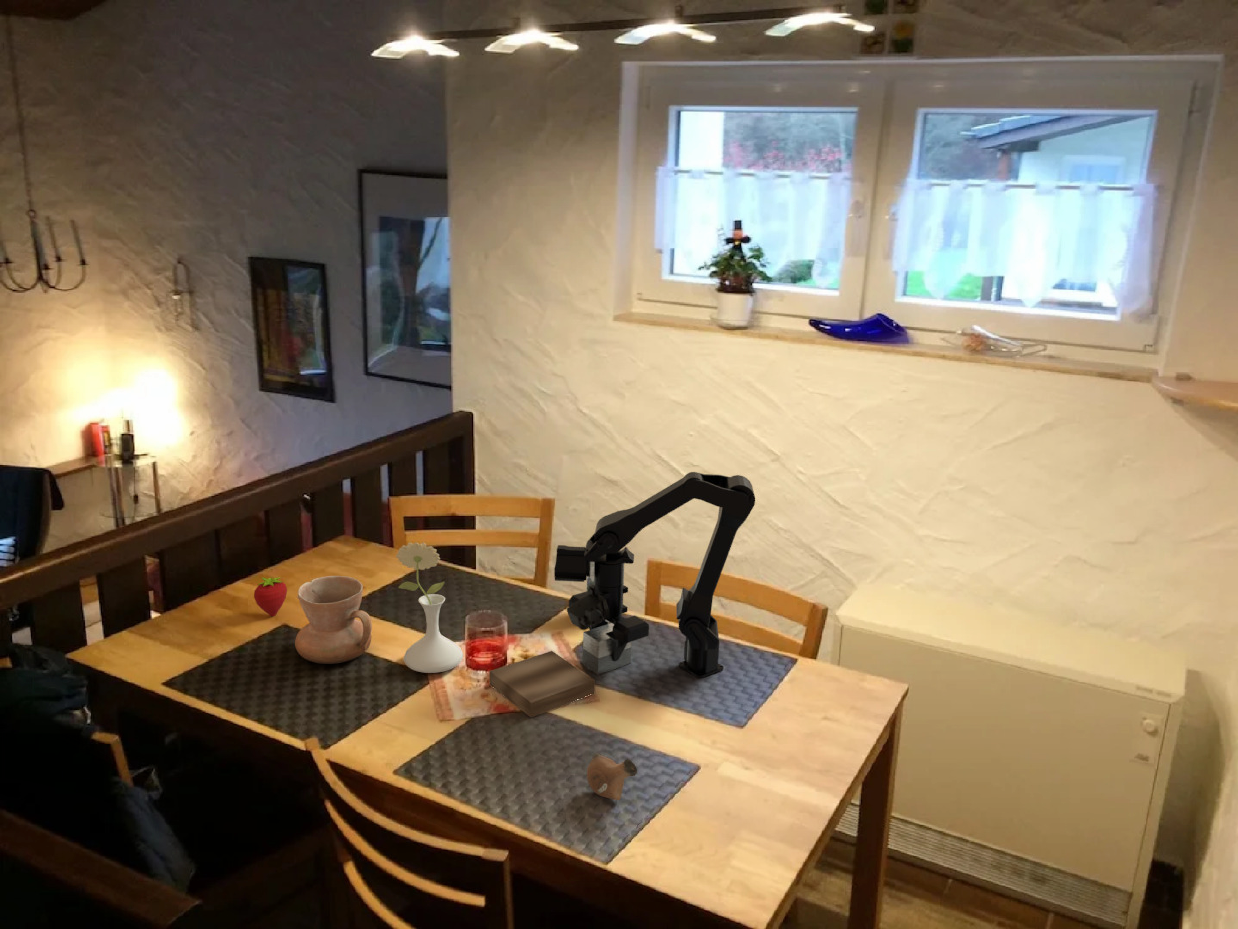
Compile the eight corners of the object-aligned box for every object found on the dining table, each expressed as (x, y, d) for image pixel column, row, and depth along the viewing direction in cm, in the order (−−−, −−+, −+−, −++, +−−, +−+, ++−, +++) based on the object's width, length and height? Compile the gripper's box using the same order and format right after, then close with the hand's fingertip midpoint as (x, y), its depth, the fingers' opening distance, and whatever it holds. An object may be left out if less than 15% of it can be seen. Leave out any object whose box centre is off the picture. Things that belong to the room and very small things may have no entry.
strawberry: (249, 620, 216) (245, 576, 213) (273, 606, 222) (270, 563, 219) (271, 625, 214) (267, 581, 211) (295, 611, 220) (292, 568, 217)
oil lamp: (642, 802, 159) (643, 757, 157) (628, 815, 156) (629, 769, 154) (594, 782, 164) (594, 738, 161) (579, 795, 160) (580, 750, 158)
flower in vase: (473, 656, 203) (471, 538, 196) (445, 683, 193) (442, 559, 185) (415, 645, 207) (410, 529, 200) (384, 671, 197) (379, 549, 189)
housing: (615, 653, 206) (615, 621, 204) (630, 663, 202) (631, 630, 200) (582, 664, 201) (583, 632, 199) (598, 674, 197) (598, 641, 195)
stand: (594, 694, 190) (594, 679, 189) (531, 717, 182) (531, 702, 181) (551, 664, 201) (551, 650, 200) (489, 685, 192) (489, 671, 191)
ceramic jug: (275, 656, 201) (270, 590, 196) (330, 628, 213) (326, 565, 208) (342, 683, 192) (338, 615, 188) (396, 652, 204) (393, 587, 200)
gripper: (546, 575, 198) (545, 648, 203) (604, 609, 185) (602, 687, 189) (592, 562, 205) (591, 633, 210) (652, 594, 191) (649, 670, 196)
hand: (607, 655), depth 201 cm, fingers closed on housing, 5 cm apart
